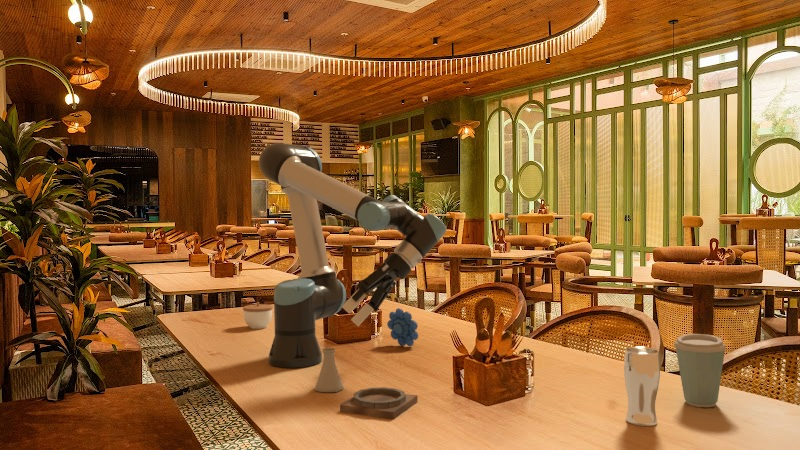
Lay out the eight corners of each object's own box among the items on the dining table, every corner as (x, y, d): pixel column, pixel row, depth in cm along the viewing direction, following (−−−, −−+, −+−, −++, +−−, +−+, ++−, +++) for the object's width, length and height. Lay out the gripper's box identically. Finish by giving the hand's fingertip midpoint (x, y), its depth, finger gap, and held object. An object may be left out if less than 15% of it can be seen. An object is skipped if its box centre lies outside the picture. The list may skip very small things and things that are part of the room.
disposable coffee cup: (722, 413, 140) (723, 344, 139) (669, 405, 145) (669, 339, 145) (727, 400, 149) (728, 335, 148) (677, 393, 154) (677, 331, 154)
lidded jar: (279, 326, 242) (278, 301, 242) (258, 331, 233) (257, 305, 233) (258, 323, 248) (257, 299, 248) (237, 328, 239) (236, 302, 239)
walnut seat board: (340, 411, 143) (340, 399, 143) (367, 395, 155) (367, 384, 155) (393, 419, 138) (393, 406, 137) (417, 401, 149) (417, 390, 149)
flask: (339, 394, 156) (338, 353, 156) (310, 392, 157) (309, 351, 157) (347, 386, 163) (347, 346, 163) (319, 384, 164) (319, 345, 164)
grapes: (380, 346, 207) (379, 308, 207) (392, 342, 213) (391, 306, 213) (410, 350, 201) (410, 312, 200) (422, 346, 206) (421, 309, 206)
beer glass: (618, 416, 138) (618, 346, 138) (649, 415, 139) (650, 345, 138) (632, 427, 131) (633, 354, 131) (665, 426, 132) (666, 353, 131)
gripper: (408, 253, 168) (351, 313, 164) (416, 282, 191) (367, 336, 186) (387, 235, 171) (331, 295, 166) (397, 266, 194) (348, 319, 189)
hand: (350, 317), depth 176 cm, fingers open, 13 cm apart
